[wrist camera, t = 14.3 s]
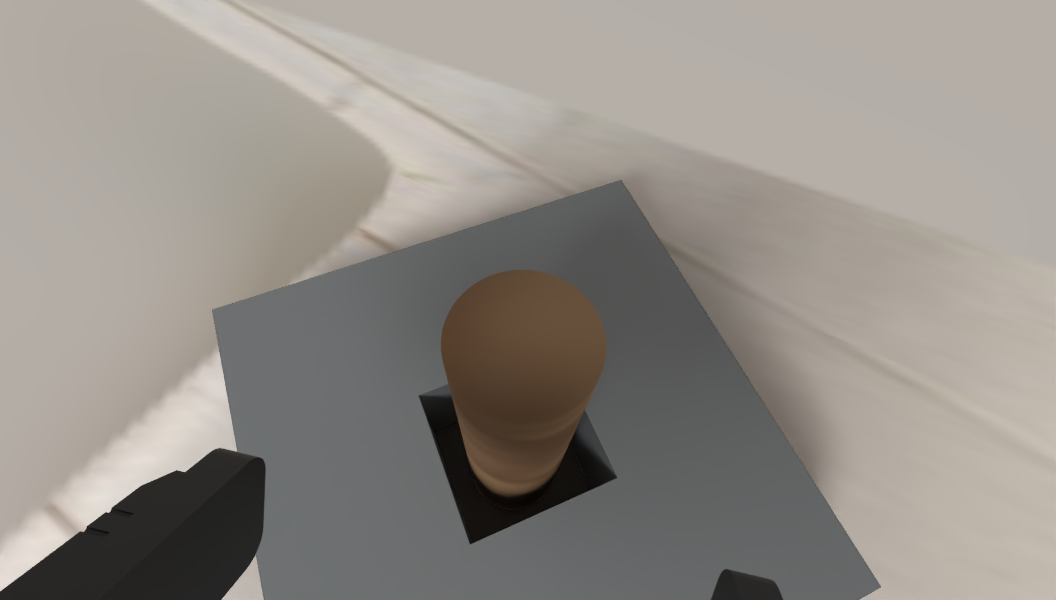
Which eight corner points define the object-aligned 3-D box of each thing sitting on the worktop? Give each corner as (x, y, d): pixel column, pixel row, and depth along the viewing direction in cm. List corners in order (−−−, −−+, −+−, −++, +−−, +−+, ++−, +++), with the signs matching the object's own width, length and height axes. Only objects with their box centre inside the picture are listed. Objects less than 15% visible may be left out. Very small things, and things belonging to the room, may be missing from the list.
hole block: (603, 242, 26) (621, 179, 22) (804, 587, 19) (881, 587, 16) (262, 358, 23) (211, 309, 19) (364, 828, 16) (319, 907, 12)
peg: (534, 413, 22) (564, 250, 12) (567, 488, 21) (635, 383, 10) (460, 443, 21) (418, 300, 11) (489, 523, 20) (475, 450, 9)
